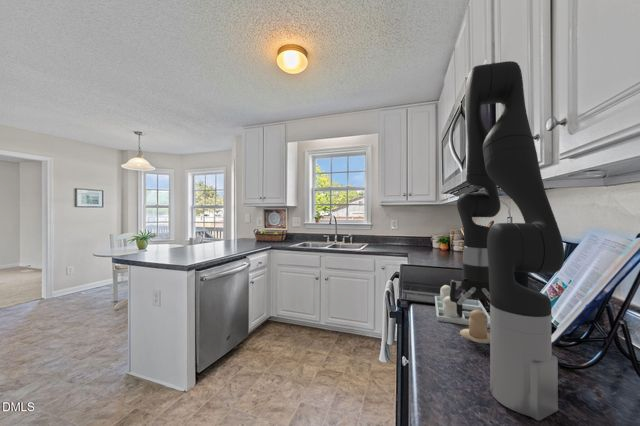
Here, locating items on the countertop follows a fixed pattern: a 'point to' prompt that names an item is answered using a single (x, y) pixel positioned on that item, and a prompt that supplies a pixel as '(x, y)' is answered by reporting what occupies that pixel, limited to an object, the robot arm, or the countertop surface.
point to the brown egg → (478, 324)
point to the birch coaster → (466, 334)
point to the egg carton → (466, 305)
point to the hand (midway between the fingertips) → (477, 318)
